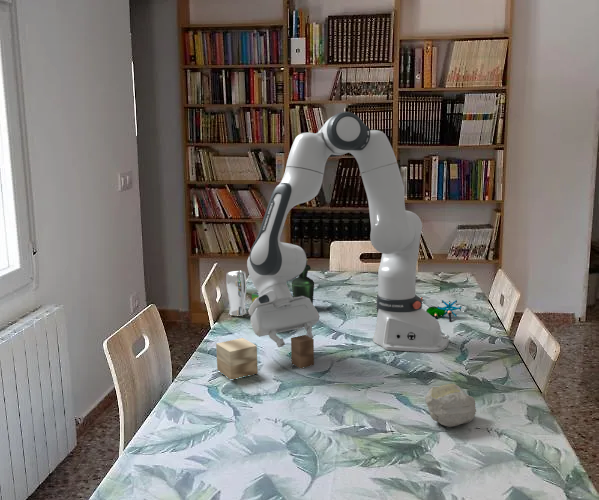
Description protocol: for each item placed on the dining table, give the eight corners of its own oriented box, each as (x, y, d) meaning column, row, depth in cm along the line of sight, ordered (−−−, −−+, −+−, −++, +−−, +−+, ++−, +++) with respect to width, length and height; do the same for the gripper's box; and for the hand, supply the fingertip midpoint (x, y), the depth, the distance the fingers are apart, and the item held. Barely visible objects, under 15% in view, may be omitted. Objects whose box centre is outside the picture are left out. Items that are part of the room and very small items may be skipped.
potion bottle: (312, 312, 234) (311, 262, 230) (289, 311, 235) (288, 261, 232) (316, 306, 241) (315, 257, 238) (294, 305, 243) (293, 257, 240)
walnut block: (305, 360, 188) (304, 334, 187) (314, 365, 185) (313, 339, 183) (291, 363, 186) (290, 338, 184) (300, 368, 182) (299, 342, 181)
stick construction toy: (464, 309, 226) (457, 295, 221) (465, 325, 221) (459, 311, 216) (429, 316, 230) (422, 302, 225) (430, 332, 225) (423, 319, 220)
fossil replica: (485, 419, 150) (445, 412, 156) (485, 383, 149) (444, 376, 155) (461, 435, 141) (419, 426, 147) (460, 397, 140) (418, 389, 146)
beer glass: (246, 317, 230) (244, 275, 227) (226, 317, 230) (224, 275, 227) (248, 311, 237) (246, 270, 234) (228, 312, 237) (227, 270, 234)
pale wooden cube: (243, 365, 185) (242, 337, 184) (257, 374, 179) (256, 345, 177) (217, 371, 181) (216, 343, 180) (230, 381, 175) (229, 351, 173)
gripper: (303, 300, 200) (322, 340, 193) (242, 312, 189) (260, 355, 183) (311, 289, 195) (331, 329, 189) (250, 300, 184) (268, 344, 178)
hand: (296, 342), depth 186 cm, fingers open, 8 cm apart
